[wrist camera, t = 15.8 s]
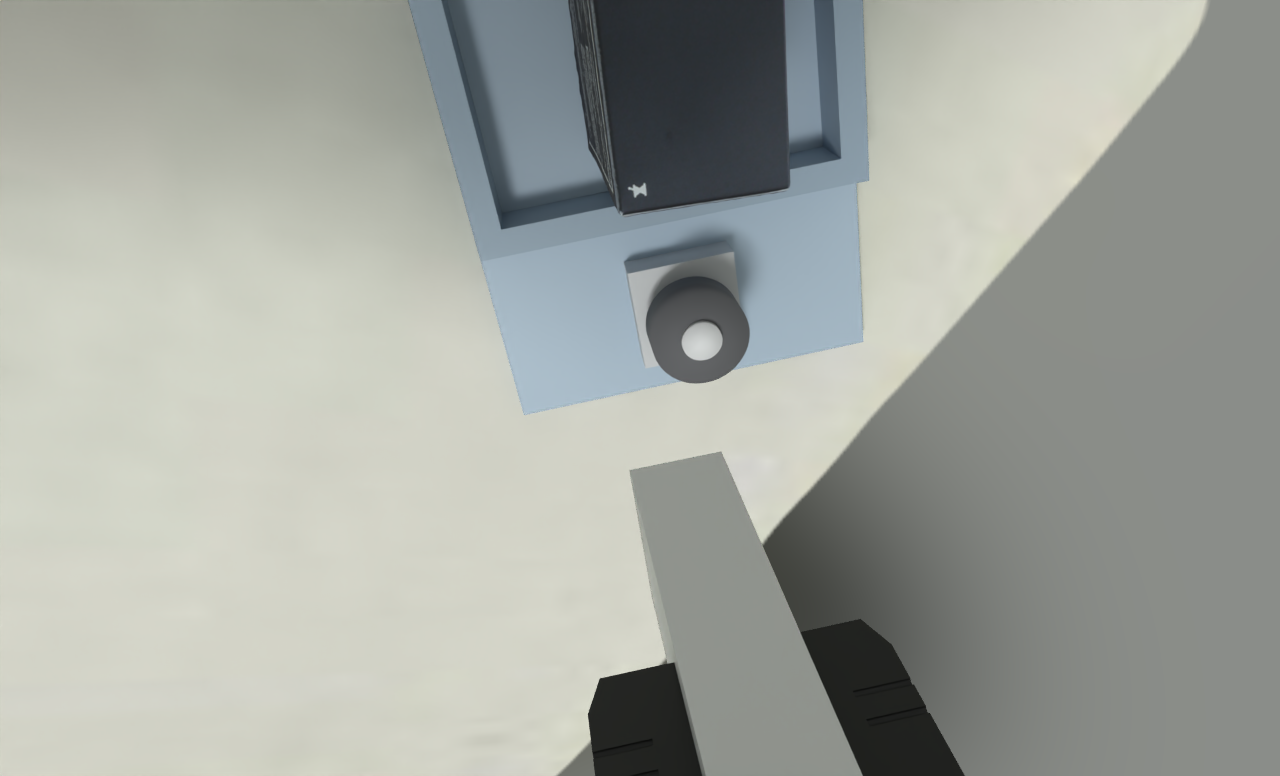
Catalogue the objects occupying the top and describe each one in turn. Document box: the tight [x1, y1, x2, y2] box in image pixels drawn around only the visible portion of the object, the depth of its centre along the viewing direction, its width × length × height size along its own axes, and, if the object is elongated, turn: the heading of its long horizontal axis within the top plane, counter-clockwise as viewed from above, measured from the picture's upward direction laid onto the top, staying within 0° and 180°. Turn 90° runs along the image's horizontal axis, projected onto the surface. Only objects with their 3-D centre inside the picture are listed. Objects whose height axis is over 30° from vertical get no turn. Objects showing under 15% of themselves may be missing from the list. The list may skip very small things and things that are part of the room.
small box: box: [568, 0, 790, 217], centre depth 30 cm, size 11×6×10 cm, turn 7°
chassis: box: [408, 0, 869, 415], centre depth 36 cm, size 18×26×4 cm
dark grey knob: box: [646, 276, 750, 383], centre depth 38 cm, size 4×4×4 cm
